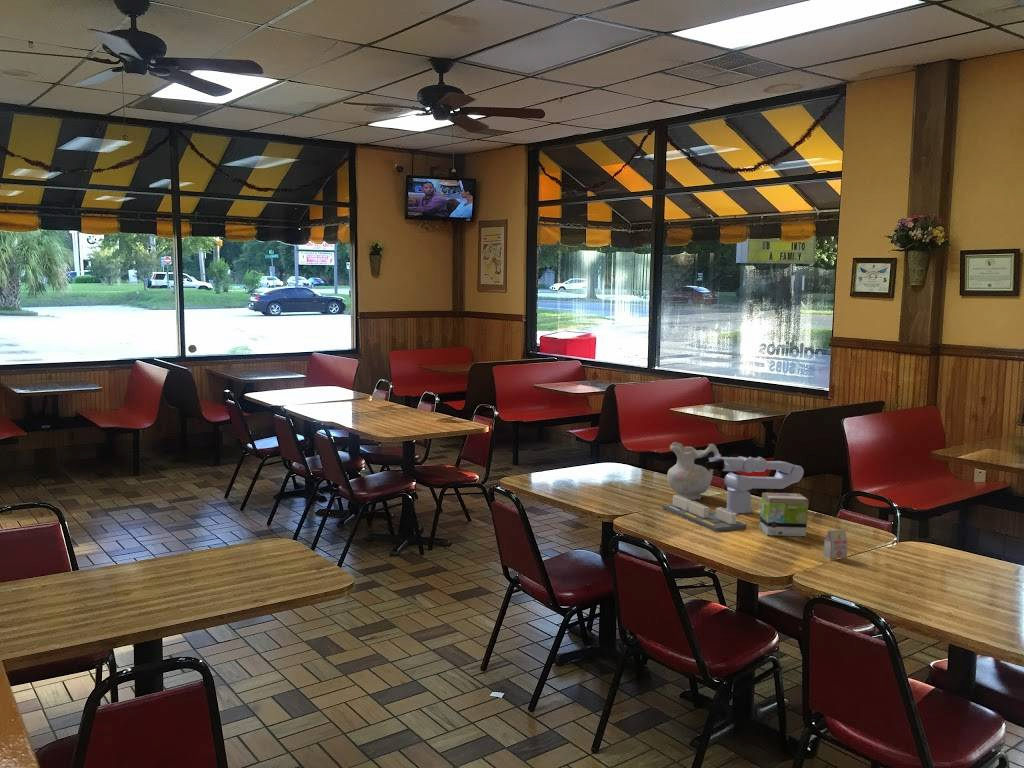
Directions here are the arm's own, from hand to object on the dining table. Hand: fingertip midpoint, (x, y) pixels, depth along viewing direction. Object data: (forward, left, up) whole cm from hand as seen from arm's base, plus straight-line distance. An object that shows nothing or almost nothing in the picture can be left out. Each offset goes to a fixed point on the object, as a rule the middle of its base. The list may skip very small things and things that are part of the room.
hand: (700, 463), depth 349 cm
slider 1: (+3, -7, -20) cm, 21 cm away
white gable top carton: (-12, +63, -22) cm, 68 cm away
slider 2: (+3, +5, -20) cm, 21 cm away
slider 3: (-2, +16, -20) cm, 26 cm away
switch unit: (+1, +4, -22) cm, 22 cm away
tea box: (-16, +32, -22) cm, 42 cm away
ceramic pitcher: (-16, -27, -22) cm, 38 cm away
